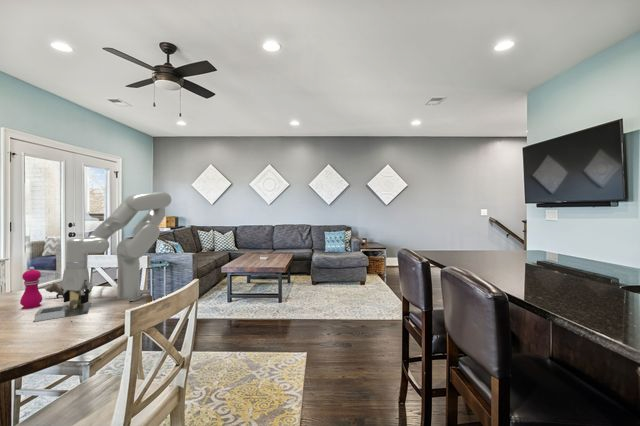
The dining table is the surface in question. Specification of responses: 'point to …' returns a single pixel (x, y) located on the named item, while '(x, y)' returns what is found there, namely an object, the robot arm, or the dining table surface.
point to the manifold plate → (60, 312)
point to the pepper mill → (31, 289)
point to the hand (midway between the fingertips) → (76, 302)
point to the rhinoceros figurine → (55, 289)
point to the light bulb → (75, 299)
